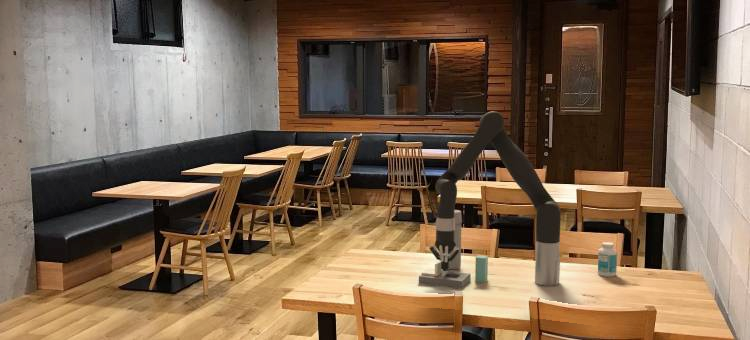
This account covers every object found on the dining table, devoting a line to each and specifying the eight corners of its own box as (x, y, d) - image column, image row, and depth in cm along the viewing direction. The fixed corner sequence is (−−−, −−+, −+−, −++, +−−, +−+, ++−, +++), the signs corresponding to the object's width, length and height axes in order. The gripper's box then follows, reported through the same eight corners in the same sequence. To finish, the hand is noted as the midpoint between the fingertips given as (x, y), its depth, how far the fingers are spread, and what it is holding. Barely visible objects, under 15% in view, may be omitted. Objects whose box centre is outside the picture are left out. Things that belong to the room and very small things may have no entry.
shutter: (442, 272, 304) (442, 260, 303) (436, 276, 298) (437, 264, 297) (427, 270, 307) (427, 259, 306) (421, 274, 300) (421, 263, 300)
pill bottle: (614, 272, 314) (615, 241, 313) (618, 277, 307) (619, 245, 305) (595, 272, 315) (597, 241, 313) (599, 277, 308) (600, 245, 306)
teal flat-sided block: (487, 279, 304) (487, 256, 302) (484, 282, 300) (485, 258, 299) (477, 278, 305) (478, 255, 304) (475, 281, 302) (475, 257, 300)
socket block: (470, 280, 302) (470, 273, 302) (461, 288, 291) (462, 281, 291) (428, 276, 309) (428, 269, 309) (418, 283, 299) (418, 276, 298)
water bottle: (462, 270, 318) (463, 212, 315) (444, 270, 318) (444, 212, 315) (460, 264, 327) (461, 208, 324) (442, 264, 328) (443, 208, 324)
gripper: (464, 227, 298) (463, 270, 301) (432, 225, 303) (432, 266, 306) (458, 231, 291) (457, 274, 294) (426, 228, 297) (426, 271, 299)
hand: (444, 270), depth 300 cm, fingers closed
